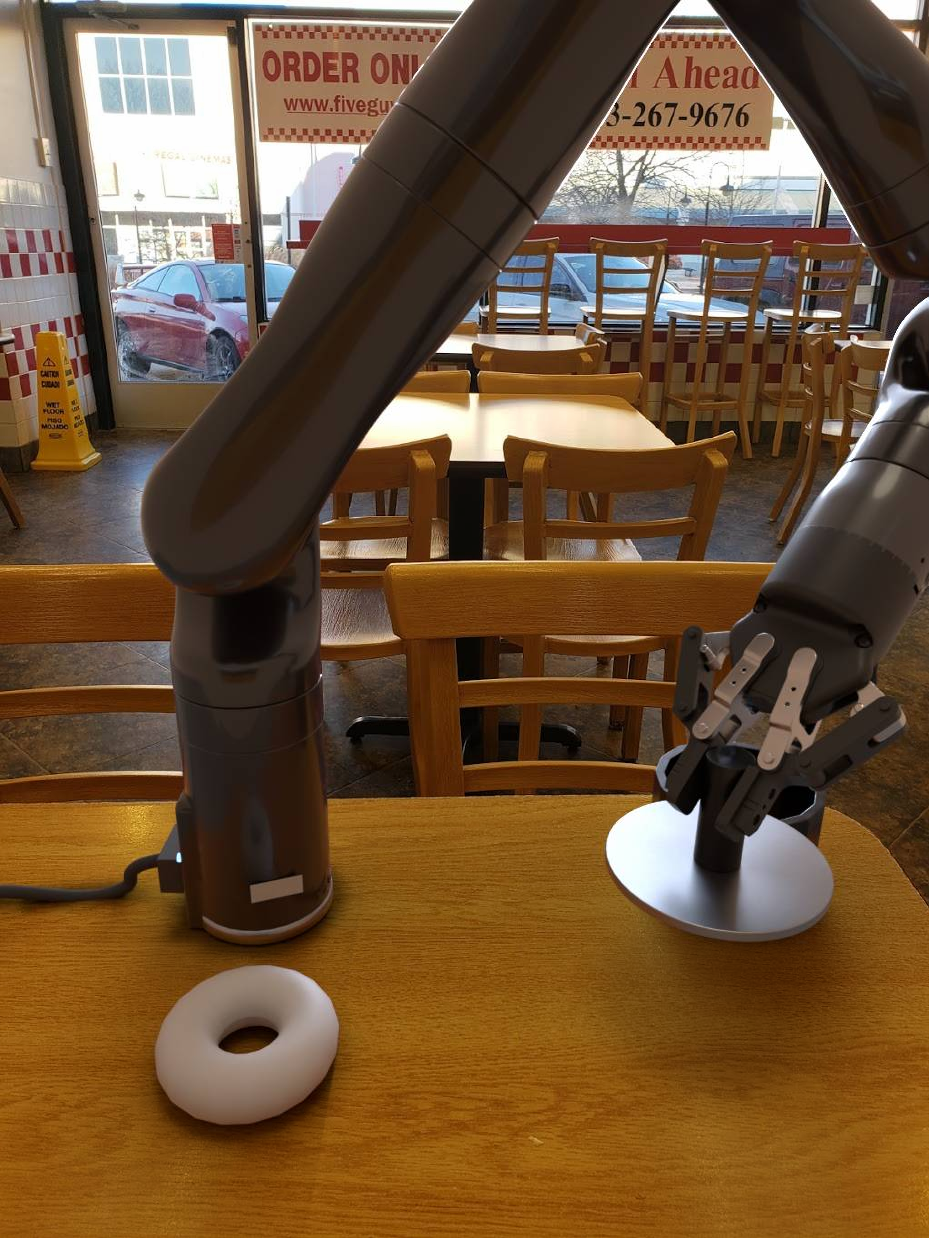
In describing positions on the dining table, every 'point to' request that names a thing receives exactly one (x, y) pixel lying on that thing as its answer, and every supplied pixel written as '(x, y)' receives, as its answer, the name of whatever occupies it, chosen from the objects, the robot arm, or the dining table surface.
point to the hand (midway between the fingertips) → (701, 820)
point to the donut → (255, 1079)
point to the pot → (789, 807)
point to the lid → (719, 865)
